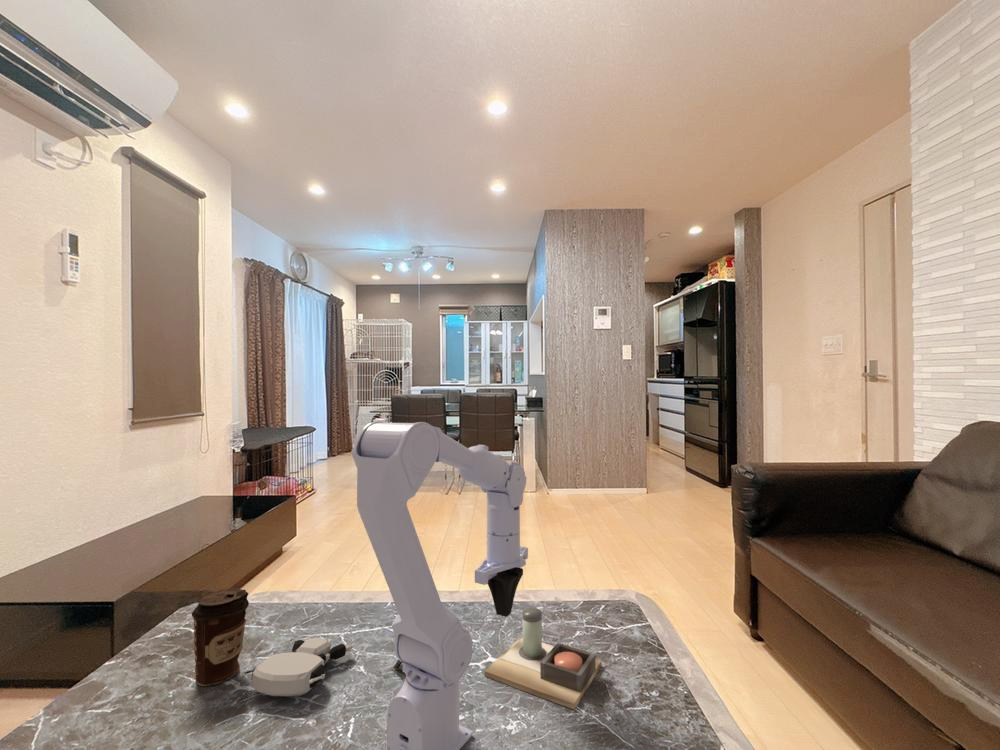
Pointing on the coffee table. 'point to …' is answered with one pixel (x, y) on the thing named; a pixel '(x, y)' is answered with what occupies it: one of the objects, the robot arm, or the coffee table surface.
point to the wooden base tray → (545, 673)
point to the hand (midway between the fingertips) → (503, 614)
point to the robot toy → (296, 668)
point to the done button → (569, 661)
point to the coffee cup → (219, 635)
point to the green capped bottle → (532, 632)
